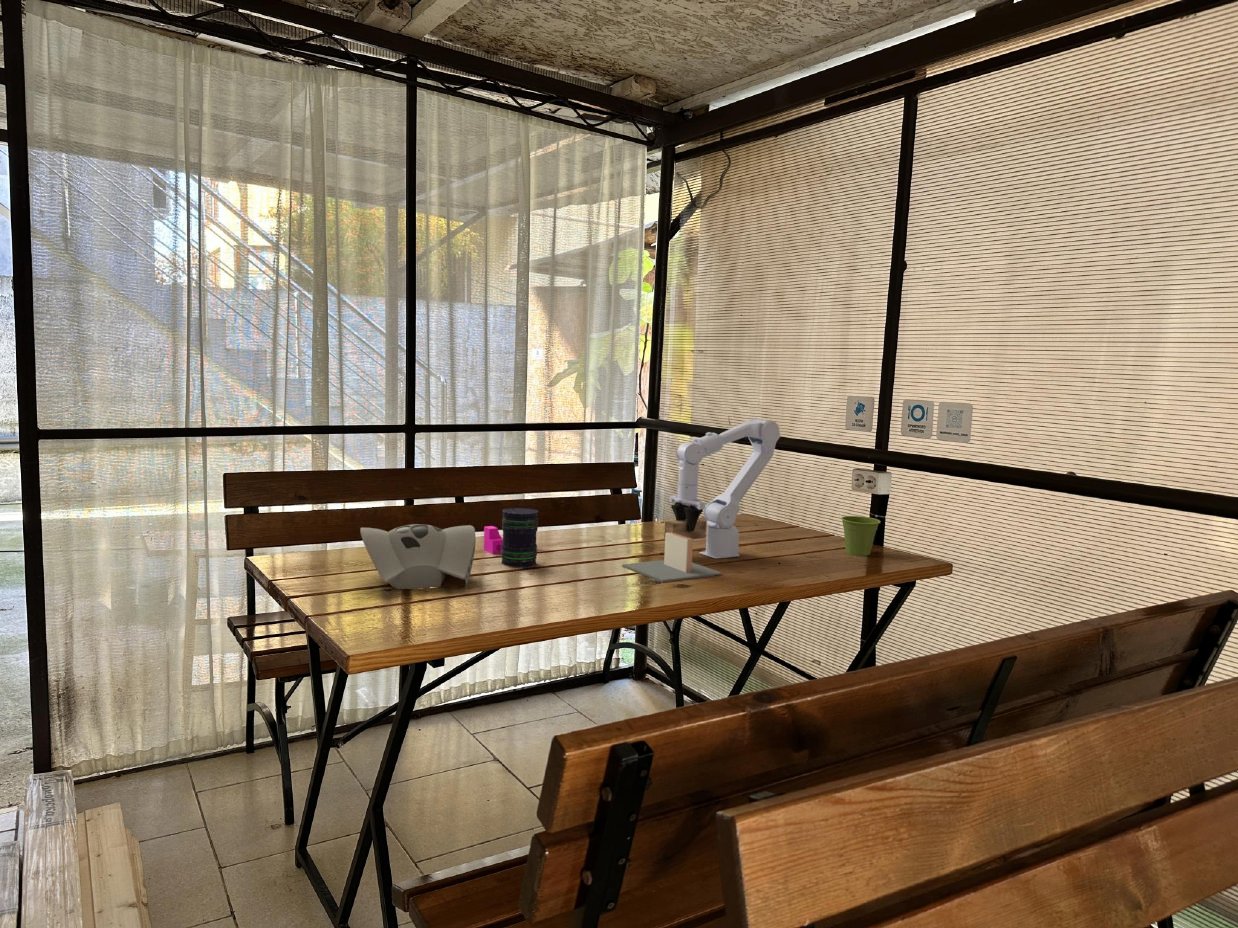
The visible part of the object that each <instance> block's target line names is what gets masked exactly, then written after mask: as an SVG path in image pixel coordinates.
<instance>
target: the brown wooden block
mask: <svg viewBox="0 0 1238 928" xmlns="http://www.w3.org/2000/svg"><path fill="white" fill-rule="evenodd" d="M669 532H672V533H675V534H678V535H682V536H685V537H688V538H691V539H693V540H699V539H700V540H701V539H706V534H707V520H702V519H699V518H698V520H697V523H696V526H695V529H694V531H692V532H688V531H687V523H686V520H678V521H676V520H668V521H666V520H665V521H664V537H663V539H665V533H669Z"/></svg>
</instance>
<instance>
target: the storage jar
mask: <svg viewBox="0 0 1238 928" xmlns="http://www.w3.org/2000/svg"><path fill="white" fill-rule="evenodd" d="M538 514H539V510H538V509H535V508H529V507H508V508H507V507H506V508H504V509H502V519H501V520H502V521H501V524H502V526H501V531H502V538H503V544H502V550H501V553H500V555H501V565H503V566H507V567H513V568H523V569H526V568H529V569H530V568H532V567H536V566H537V556H538V545H537V532H538V529H539V528H538V527H539V526H538V525H539V516H538Z"/></svg>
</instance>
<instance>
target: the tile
mask: <svg viewBox="0 0 1238 928" xmlns="http://www.w3.org/2000/svg"><path fill="white" fill-rule="evenodd" d="M664 534H665V538H664V557H663V558H664V559H663V560H664V564H665V565H667V566H670V567H673V568H675V569H678V570H681V571H683V572H691V570H692V562H693V548H694V547H693V546H694V545H693V544H694V539H691V538H688V537H685V536H682V535H678V534H675V533H672V532H669V533H665V532H664Z"/></svg>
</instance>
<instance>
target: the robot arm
mask: <svg viewBox="0 0 1238 928" xmlns="http://www.w3.org/2000/svg"><path fill="white" fill-rule="evenodd" d="M746 437H747V438H748V440H749V442H750V444H751V446H752V451H753V452H752V453H751V455H750V456H749V458H748V459H747V460H746V461H745V463H744V464H743V466H742V467H741V469H740V470H739V471H738V473H737V474H736V476H735V477H734V478H733V480H732V481H731V482H730V483H729V485H728V486H727V487H726V489H725V490H724V492H722V493H720V494H718V495H716V496H715V497H714V498H713V500H712V501H710V502H708V503H707V504H706V502H704V501H702V500H699V499H698V489H699V469H700V468H699V467H700V463H701V462H702V460H703V459H704V458H706V457H708V456H711V455H713V454H715V453H718V452H720V451H722V449H723V446H725V445H727V444H729V443H732V442H736V441H738V440H740V439H742V438H746ZM780 438H781V432H780V427H779V425H778V423H777V422H776V421H775V420H772V419H771V420H769V419H760V418H752V419H749V420H744V421H743V422H741V423H739V424H737V425H736V426H733V427H732V428H729V429H727V430H724V431H723V432H721V433H720V434H718V433H715V432H710V431H708V432H706V433H705V435H704V436H702V437H699V438H693V439H692V440H691V442H683V443H681V444H679V447H678V448H677V451H675V456H676V458H677V460H678V482H677V485H678V486H677V495H676V494H673V495H669V502H670V503H674V504H671V507H670V508H671V509H672V512H673V514H674V517H675V519H676V520H675V521H678V520H686V523H687V531H688V532H692V531H694V529H695V526H696V523H697V520H698V519H699V518H700V516H701V514H702V513H703V517H704V519H705V521H706V537H705V539H706V542H705V551H699V554H700V555H704V556H706V557H710V558H713V559H726V558H734V557H741V554H740V553H739V546H740V544H739V543H740V533H739V530H738V528H737V527H736V526H735V525H734V523H736V520H737V517H738V514H739V512H740V511H741V508H740V502H741V501H742V500H743V498H744V496H745V495H746V494H747V492H748V491H749V490H750V489H751V487H752V486H753V484H754V483H755V482H756V480H757V479H758V477H759V476H760V475H761V473H762V472H764V471H763V470H765V468H766V466H767V465H768V464H769V462H771V459H772V458H773V456H774V453H775V449H776V444H777V442H778V440H779V439H780Z"/></svg>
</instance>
